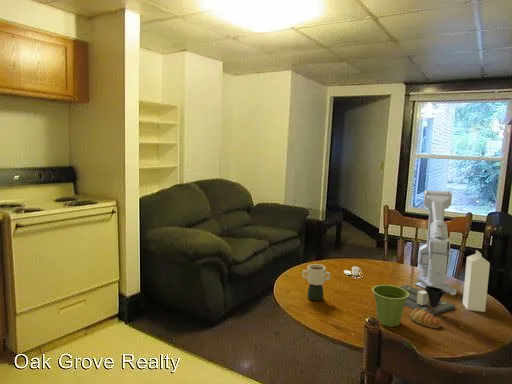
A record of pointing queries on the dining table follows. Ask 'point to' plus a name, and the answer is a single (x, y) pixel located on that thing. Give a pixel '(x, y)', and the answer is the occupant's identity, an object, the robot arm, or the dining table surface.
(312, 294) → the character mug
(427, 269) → the robot arm
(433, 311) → the console
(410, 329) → the dining table surface
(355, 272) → the teacup and saucer
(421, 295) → the fader
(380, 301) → the plant pot
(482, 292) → the milk
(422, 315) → the pastry
